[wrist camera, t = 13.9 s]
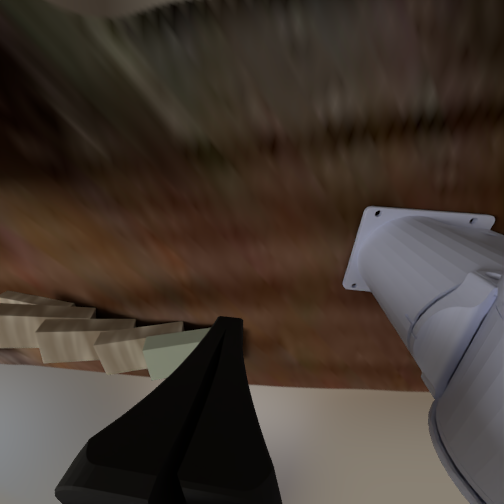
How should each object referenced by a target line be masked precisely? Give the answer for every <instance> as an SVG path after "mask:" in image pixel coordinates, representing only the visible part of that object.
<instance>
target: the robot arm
mask: <svg viewBox="0 0 504 504" xmlns="http://www.w3.org/2000/svg"><path fill="white" fill-rule="evenodd" d="M379 210H380V213H379V215H376V216H375V213H376V212H377V211H379ZM471 219H473V221H472V222H470V220H471ZM469 222H470V223H469ZM494 222H495V218H494V217H493V216H491V215H486V214H473V213H459V212H446V211H433V210H419V209H406V208H392V207H379V206H369V207H367V208H366V209H365V210H364V213H363V216H362V220H361V223H360V226H359V230H358V233H357V236H356V240H355V243H354V246H353V250H352V253H351V256H350V260H349V263H348V266H347V270H346V273H345V277H344V280H343V286H344V288H345V289H351V290H360V291H369V292H372V294H373V295H374V297H375V298H376V300H377V301H378V303H379V305H380V306H381V308H382V309H383V311H384V312H385V314H386V315H387V317H388V319H389V320H390V322H391V323H392V325H393V326H394V328H395V330H396V331H397V333H398V334H399V336H400V337H401V339H402V340H403V342H404V344H405V345H406V347H407V348H408V350H409V351H410V353H411V354H412V356H413V358H414V359H415V361H416V363H417V364H418V366H419V367H420V369H421V370H422V375H421V378H422V380H423V381H424V383H425V385H426V386H427V388H428V389H429V391H430V393H431V394H432V396H433V397H434V399H435V400H434V402H433V403H432V405H431V408H430V411H429V416H428V417H429V418H428V424H429V432H430V436H431V439H432V443H433V446H434V448H435V450H436V453H437V455H438V457H439V459H440V461H441V463H442V465H443V466H444V468H445V470H446V471H447V473H448V475H449V476H450V478H451V479H452V481H453V482H454V483H455V485H456V486H457V488H458V489H459V491H460V492H461V493H462V495H463V496H464V497H465V498H466V499H467V500H468V502H469V503H470V504H504V235H502V234H499V233H496V232H494V231H491V230H490V229H491V227H492V226H493V224H494ZM352 284H356V285H354V286H352ZM242 346H243V320H242V319H241V318H232V317H223V316H219V317H218V318H217V320H216V321H215V323H214V324H213V326H212V327H211V328H210V330H209V331H208V332H207V334H206V335H205V336H204V338H203V339H202V340H201V341H200V343H199V344H198V345H197V346H196V348H195V349H194V350H193V351H192V352H191V353H190V354H189V356H188V357H187V358H186V359H185V360H184V361H183V362H182V363H181V364H180V365H179V366H178V368H177V369H176V370H175V371H174V372H173V373H172V374H170V375H169V376H168V377H167V378H166V379H165V380H164V381H163V382H162V383H161V384H160V385H159V386H158V387H156V388H155V389H154V390H153V391H152V392H151V393H150V394H148V395H147V396H146V397H145V398H144V399H143V400H141V401H140V402H139V403H137V404H136V405H135V406H134V407H133V408H131V409H130V410H129V411H127V412H126V413H125V414H123V415H122V416H121V417H120V418H118V419H117V420H115V421H114V422H113V423H111V424H110V425H108V426H107V427H106V428H104V429H103V430H101V431H100V432H99V433H97V434H96V435H94V436H93V437H91V438H90V439H89V440H88V442H87V443H86V444H85V446H84V447H83V448H82V450H81V451H80V452H79V454H78V455H77V457H76V458H75V459H74V461H73V462H72V464H71V466H70V467H69V468H68V470H67V472H66V473H65V475H64V476H63V478H62V479H61V481H60V482H59V484H58V485H57V487H56V489H55V496H56V498H57V499H58V500H59V501H60V502H61V503H62V504H282V500H281V496H280V491H279V487H278V483H277V479H276V475H275V470H274V466H273V463H272V460H271V458H270V455H269V452H268V449H267V446H266V444H265V441H264V438H263V435H262V432H261V429H260V425H259V422H258V419H257V415H256V412H255V408H254V405H253V401H252V397H251V393H250V389H249V385H248V380H247V376H246V370H245V364H244V358H243V349H242Z"/></svg>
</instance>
